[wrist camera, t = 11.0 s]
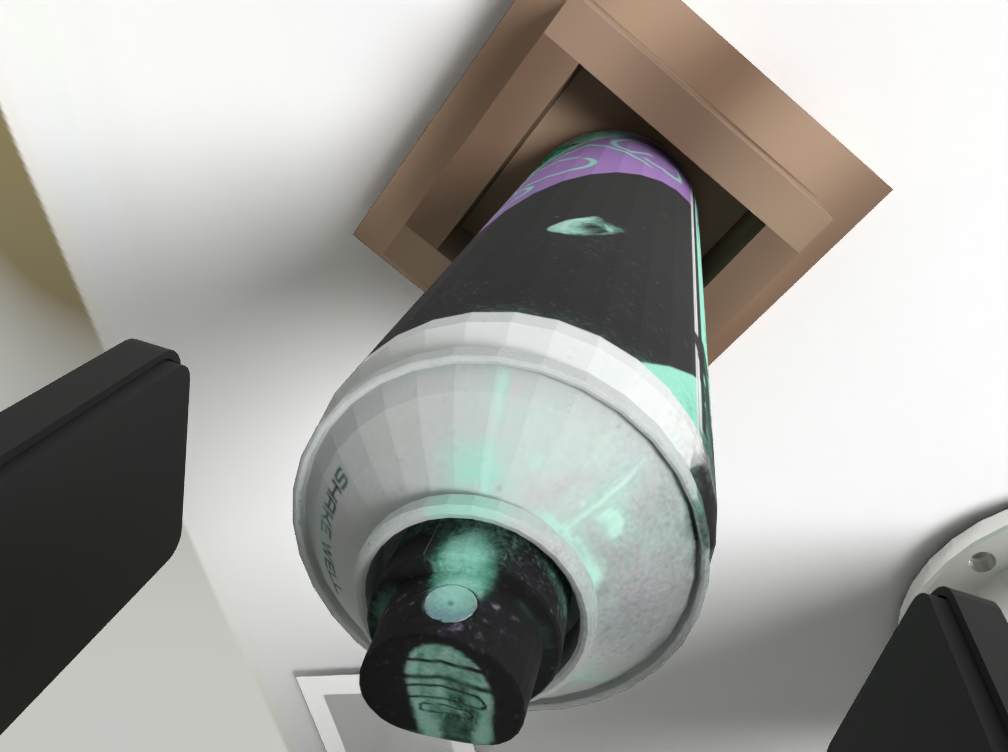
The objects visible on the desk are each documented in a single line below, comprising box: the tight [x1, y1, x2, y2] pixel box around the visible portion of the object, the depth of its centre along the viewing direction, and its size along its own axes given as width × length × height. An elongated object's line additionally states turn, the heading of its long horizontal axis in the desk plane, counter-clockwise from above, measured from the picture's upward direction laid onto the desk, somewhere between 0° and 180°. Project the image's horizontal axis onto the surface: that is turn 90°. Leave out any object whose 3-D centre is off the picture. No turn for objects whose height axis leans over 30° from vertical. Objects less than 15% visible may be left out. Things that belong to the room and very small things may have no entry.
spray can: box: [293, 129, 717, 745], centre depth 17 cm, size 6×6×20 cm
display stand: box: [353, 0, 893, 366], centre depth 25 cm, size 12×12×5 cm
